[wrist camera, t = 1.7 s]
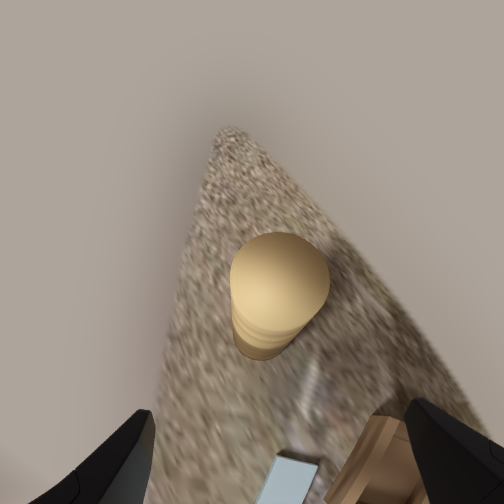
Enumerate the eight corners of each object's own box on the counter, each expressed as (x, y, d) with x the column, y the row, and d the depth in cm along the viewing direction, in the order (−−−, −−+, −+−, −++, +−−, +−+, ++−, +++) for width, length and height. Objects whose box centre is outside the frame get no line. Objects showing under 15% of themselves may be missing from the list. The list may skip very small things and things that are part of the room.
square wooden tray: (397, 519, 15) (415, 529, 12) (322, 499, 16) (334, 512, 13) (438, 441, 18) (460, 443, 15) (371, 415, 19) (389, 416, 16)
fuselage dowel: (271, 370, 21) (303, 344, 11) (222, 343, 21) (210, 292, 12) (297, 324, 22) (344, 260, 12) (250, 298, 23) (261, 217, 13)
